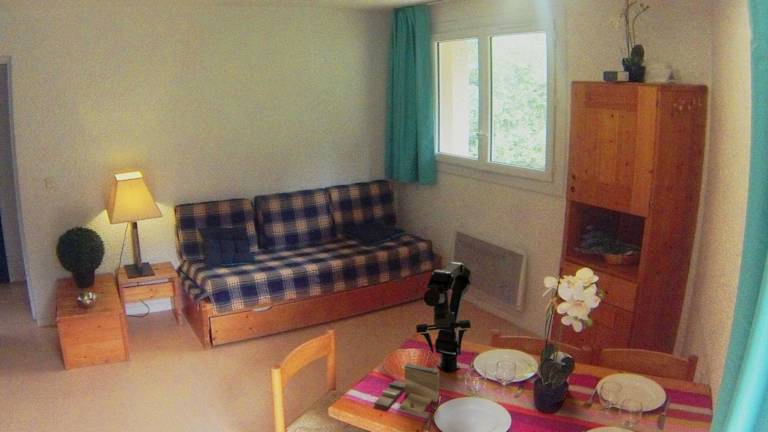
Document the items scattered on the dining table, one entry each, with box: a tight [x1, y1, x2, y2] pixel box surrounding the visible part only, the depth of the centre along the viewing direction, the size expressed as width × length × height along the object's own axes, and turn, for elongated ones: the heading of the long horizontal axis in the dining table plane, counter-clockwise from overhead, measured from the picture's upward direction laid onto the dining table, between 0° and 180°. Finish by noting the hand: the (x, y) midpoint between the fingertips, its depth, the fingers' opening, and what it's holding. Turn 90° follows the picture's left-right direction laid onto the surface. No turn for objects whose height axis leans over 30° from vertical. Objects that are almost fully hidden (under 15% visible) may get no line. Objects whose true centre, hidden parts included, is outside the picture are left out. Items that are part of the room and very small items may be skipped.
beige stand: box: [399, 363, 440, 414], centre depth 207 cm, size 10×12×11 cm
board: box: [374, 380, 405, 410], centre depth 213 cm, size 16×5×2 cm, turn 153°
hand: (446, 351), depth 210 cm, fingers open, 9 cm apart
